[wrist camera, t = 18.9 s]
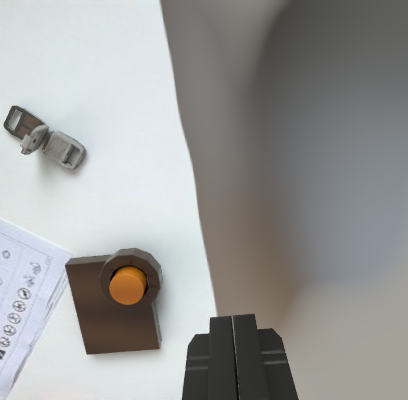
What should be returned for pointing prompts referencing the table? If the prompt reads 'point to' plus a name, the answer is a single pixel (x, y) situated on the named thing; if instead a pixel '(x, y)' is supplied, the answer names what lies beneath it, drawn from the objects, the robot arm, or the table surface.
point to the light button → (128, 285)
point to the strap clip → (34, 133)
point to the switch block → (115, 303)
